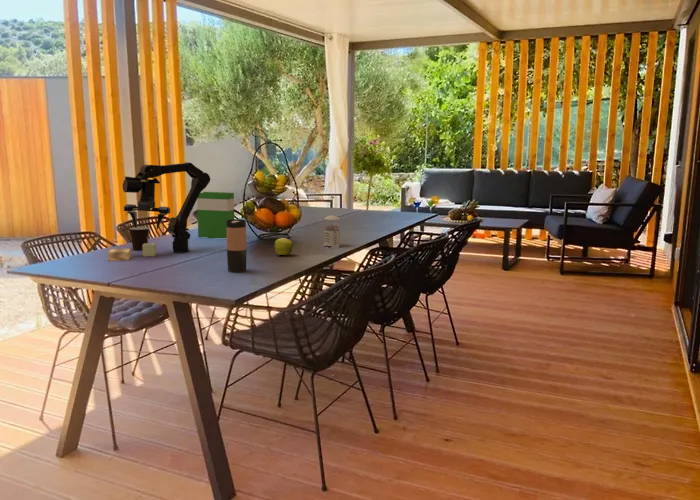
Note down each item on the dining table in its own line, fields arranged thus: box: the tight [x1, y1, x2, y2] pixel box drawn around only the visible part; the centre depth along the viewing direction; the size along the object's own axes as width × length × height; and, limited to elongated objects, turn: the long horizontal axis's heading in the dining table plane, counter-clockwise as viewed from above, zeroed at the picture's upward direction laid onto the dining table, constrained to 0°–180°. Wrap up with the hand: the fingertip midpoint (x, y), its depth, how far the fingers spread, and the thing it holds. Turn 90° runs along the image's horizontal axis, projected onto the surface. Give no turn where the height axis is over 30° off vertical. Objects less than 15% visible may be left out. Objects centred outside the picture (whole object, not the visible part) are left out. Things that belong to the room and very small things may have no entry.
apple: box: [273, 237, 294, 256], centre depth 269 cm, size 8×9×8 cm
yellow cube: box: [142, 242, 157, 257], centre depth 266 cm, size 5×5×5 cm
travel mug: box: [226, 218, 248, 273], centre depth 234 cm, size 8×8×20 cm
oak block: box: [107, 248, 132, 262], centre depth 256 cm, size 8×8×4 cm
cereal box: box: [196, 191, 235, 239], centre depth 317 cm, size 18×7×24 cm, turn 75°
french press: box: [323, 195, 341, 246], centre depth 294 cm, size 10×12×25 cm
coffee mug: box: [129, 226, 150, 252], centre depth 281 cm, size 12×9×10 cm
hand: (146, 228), depth 264 cm, fingers open, 9 cm apart
